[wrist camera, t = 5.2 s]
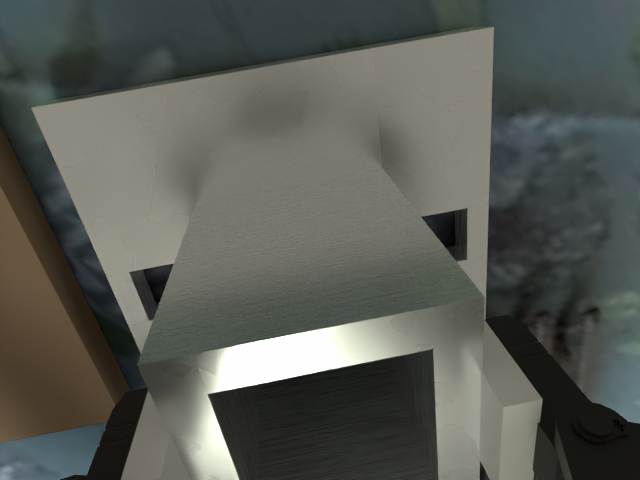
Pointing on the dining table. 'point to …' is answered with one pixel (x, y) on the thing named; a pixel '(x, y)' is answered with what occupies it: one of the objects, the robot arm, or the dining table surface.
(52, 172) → the dining table surface
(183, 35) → the dining table surface
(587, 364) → the dining table surface
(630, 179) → the dining table surface
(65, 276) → the post board
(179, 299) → the flange
